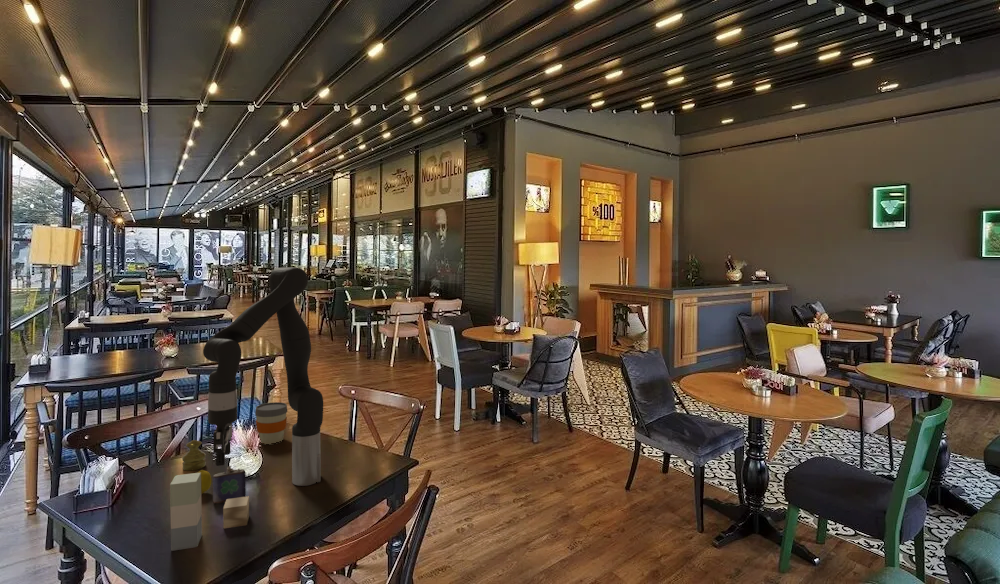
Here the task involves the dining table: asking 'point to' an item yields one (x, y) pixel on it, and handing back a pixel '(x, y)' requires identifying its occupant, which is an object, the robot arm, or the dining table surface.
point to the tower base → (186, 536)
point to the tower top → (185, 489)
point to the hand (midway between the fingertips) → (223, 459)
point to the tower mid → (186, 515)
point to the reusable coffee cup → (271, 421)
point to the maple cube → (236, 512)
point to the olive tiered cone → (194, 457)
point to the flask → (229, 485)
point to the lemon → (205, 481)
